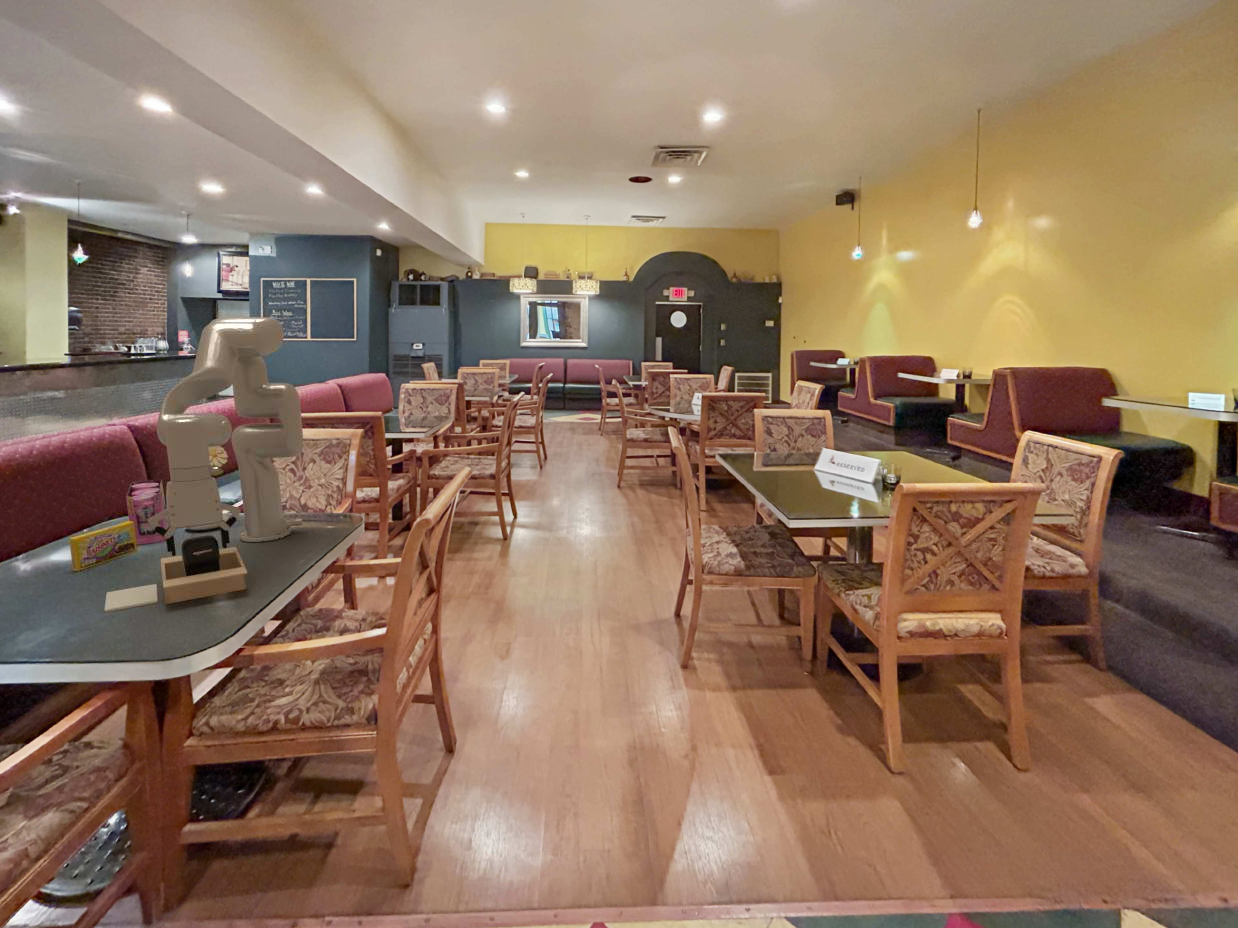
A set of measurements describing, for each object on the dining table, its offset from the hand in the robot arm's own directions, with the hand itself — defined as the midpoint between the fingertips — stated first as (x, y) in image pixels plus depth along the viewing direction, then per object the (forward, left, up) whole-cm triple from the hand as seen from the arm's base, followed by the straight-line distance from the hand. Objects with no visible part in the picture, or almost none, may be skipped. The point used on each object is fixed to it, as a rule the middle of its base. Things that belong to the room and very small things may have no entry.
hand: (199, 550), depth 152 cm
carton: (0, -1, -9) cm, 9 cm away
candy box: (+19, -37, -9) cm, 42 cm away
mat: (+13, -2, -9) cm, 16 cm away
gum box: (+9, -59, -9) cm, 60 cm away
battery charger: (0, -1, -9) cm, 9 cm away
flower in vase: (-5, -57, -9) cm, 57 cm away
